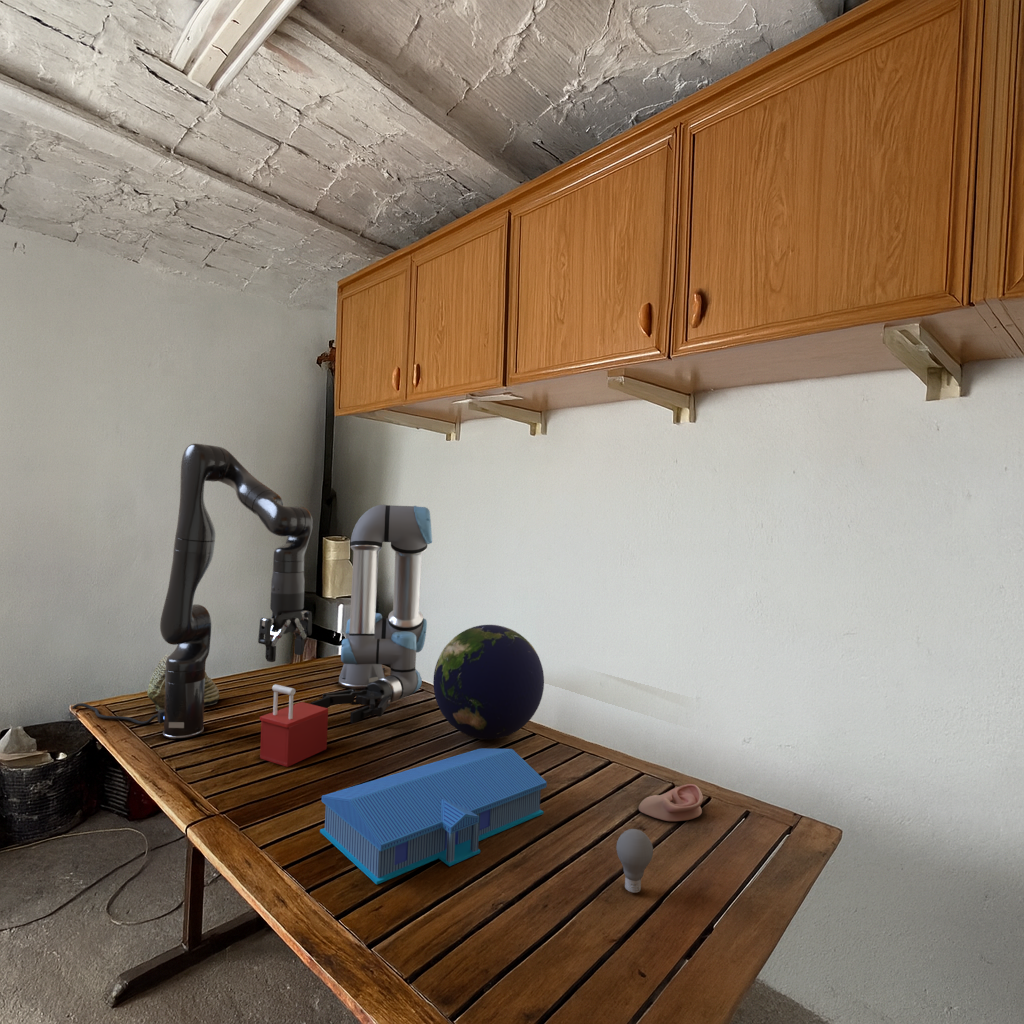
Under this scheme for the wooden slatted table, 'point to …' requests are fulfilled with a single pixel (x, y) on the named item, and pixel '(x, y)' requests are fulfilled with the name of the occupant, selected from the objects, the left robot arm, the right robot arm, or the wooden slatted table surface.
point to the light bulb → (634, 857)
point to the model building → (431, 811)
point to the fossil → (158, 687)
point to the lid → (291, 710)
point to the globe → (488, 681)
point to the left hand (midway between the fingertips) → (285, 657)
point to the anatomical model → (674, 804)
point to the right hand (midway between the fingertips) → (331, 713)
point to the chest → (293, 740)
